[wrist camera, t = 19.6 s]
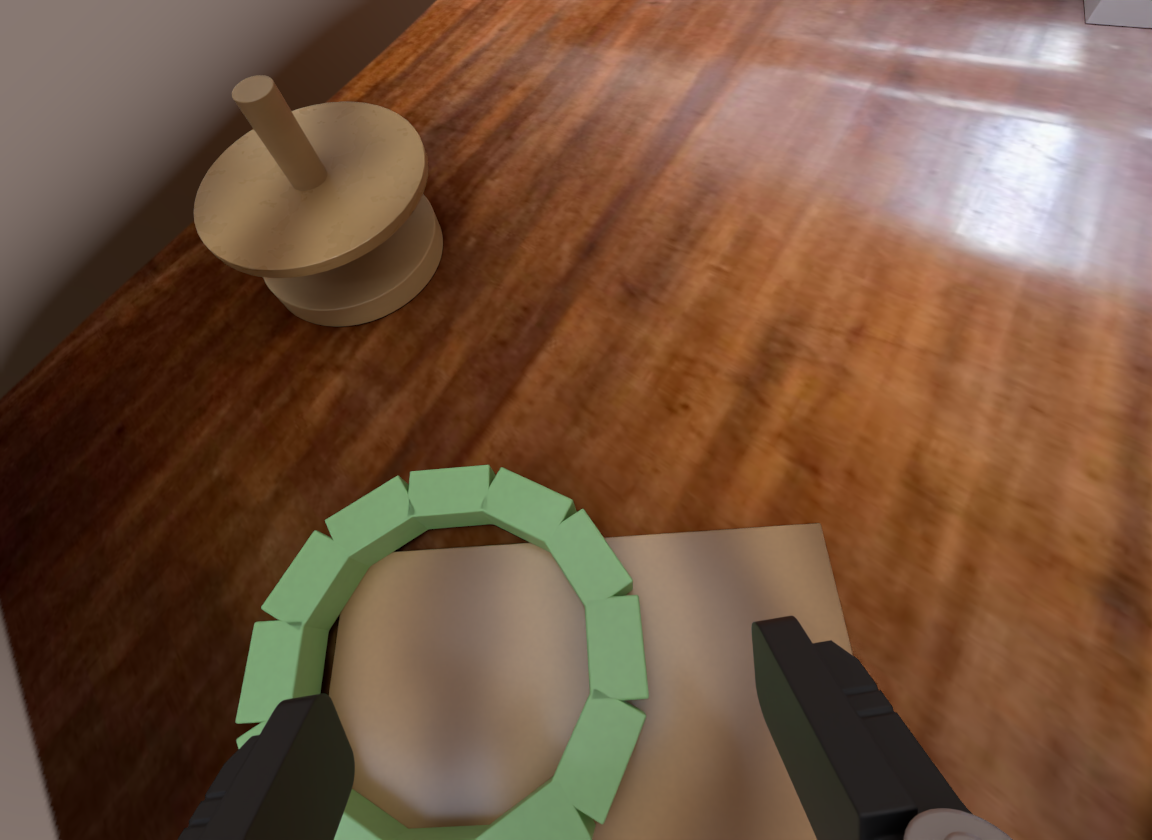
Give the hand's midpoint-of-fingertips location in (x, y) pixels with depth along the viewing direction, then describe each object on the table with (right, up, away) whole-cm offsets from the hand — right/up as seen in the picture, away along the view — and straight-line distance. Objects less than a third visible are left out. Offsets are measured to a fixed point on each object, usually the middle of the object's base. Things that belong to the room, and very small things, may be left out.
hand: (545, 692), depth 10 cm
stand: (-12, +15, +22) cm, 29 cm away
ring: (-4, -4, +10) cm, 12 cm away
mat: (+1, -7, +10) cm, 12 cm away
